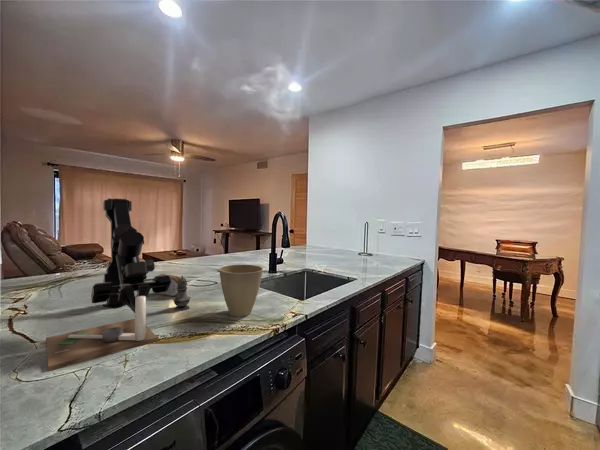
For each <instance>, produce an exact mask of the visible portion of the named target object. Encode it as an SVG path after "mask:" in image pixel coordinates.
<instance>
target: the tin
mask: <svg viewBox="0 0 600 450" xmlns="http://www.w3.org/2000/svg"><path fill="white" fill-rule="evenodd" d="M162 275H166V273H165V274H164V273H162V274H159V275H157V276H162ZM167 275H168V276H170V278H171V281H172V282H171V284H170V286H169V288H168V290H167V291H166V292H161V293H156V294H157V295H160V296H166V297H170V298H175V297H177V294H178V290H177V288H178V280H179V279H180V278H181V277H180V276H177V275H171V274H167ZM154 278H155V276H154ZM154 278H153V279H152V281H154Z"/></svg>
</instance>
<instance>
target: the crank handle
mask: <svg viewBox="0 0 600 450" xmlns="http://www.w3.org/2000/svg"><path fill="white" fill-rule="evenodd" d="M146 310H147V297H146V296H138V297H136V296H135V313H134V319H135V333H123V328H120V327H115V328H110V329H107V330H104V331H103V332H102V335H69V336H68V338H102V341H103V342H114V341H117V340H136V341H140V340H143V339H145V330H146V326H147V324H146V317H147V311H146Z"/></svg>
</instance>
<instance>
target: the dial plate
mask: <svg viewBox="0 0 600 450" xmlns="http://www.w3.org/2000/svg"><path fill="white" fill-rule="evenodd" d="M115 327H120V328H123V333H135V318H132V319H127V320H121V321H117V322H113V323H108V324H104V325H100V326H94V327H90V328H86V329H80V330H77V331H76V330H75V331H71V332H66V333H61V334H57V335H53V336H48V337H46V338H45V345H46V346H45V347H46V358H47V370H48V372H50V371H54V370H57V369H61V368H65V367H68V366H72V365H75V364H79V363H83V362H87V361H89V360H90V361H91V360H93V359H98V358H101V357H104V356H109V355H113V354H115V353H118V352H123V351H126V350H130V349H133V348H136V347H140V346H144V345H148V344H151V343H154V342H157V341H158V336H157V335H156V334H155V333H154V332H153V331H152V330H151V328H150V327H148V326H147V325H146V330H145V339H143V340H140V341H136V340H117V341H114V342H103V341H102V338H68V336H69V335H102V332H103V331H104V330H107V329H110V328H115Z"/></svg>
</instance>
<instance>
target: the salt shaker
mask: <svg viewBox="0 0 600 450" xmlns="http://www.w3.org/2000/svg"><path fill="white" fill-rule="evenodd" d="M187 289H188V287H187V279H186V278H185V277H184V276H183V275H181V277H180V279H179V280H178V288H177V290H178V294H177V296H176V297H173V298H172V301H173V303H174V305H175V307H173V310H174V311H176V312H177V311H178V312H179V311H180V312H182V311H187V310H189V309H190V308H191V307H190V306H189V305H188V304H189V303H190V301H191V300H190V299H191V296H188V295H187V294H188V293H187Z"/></svg>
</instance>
